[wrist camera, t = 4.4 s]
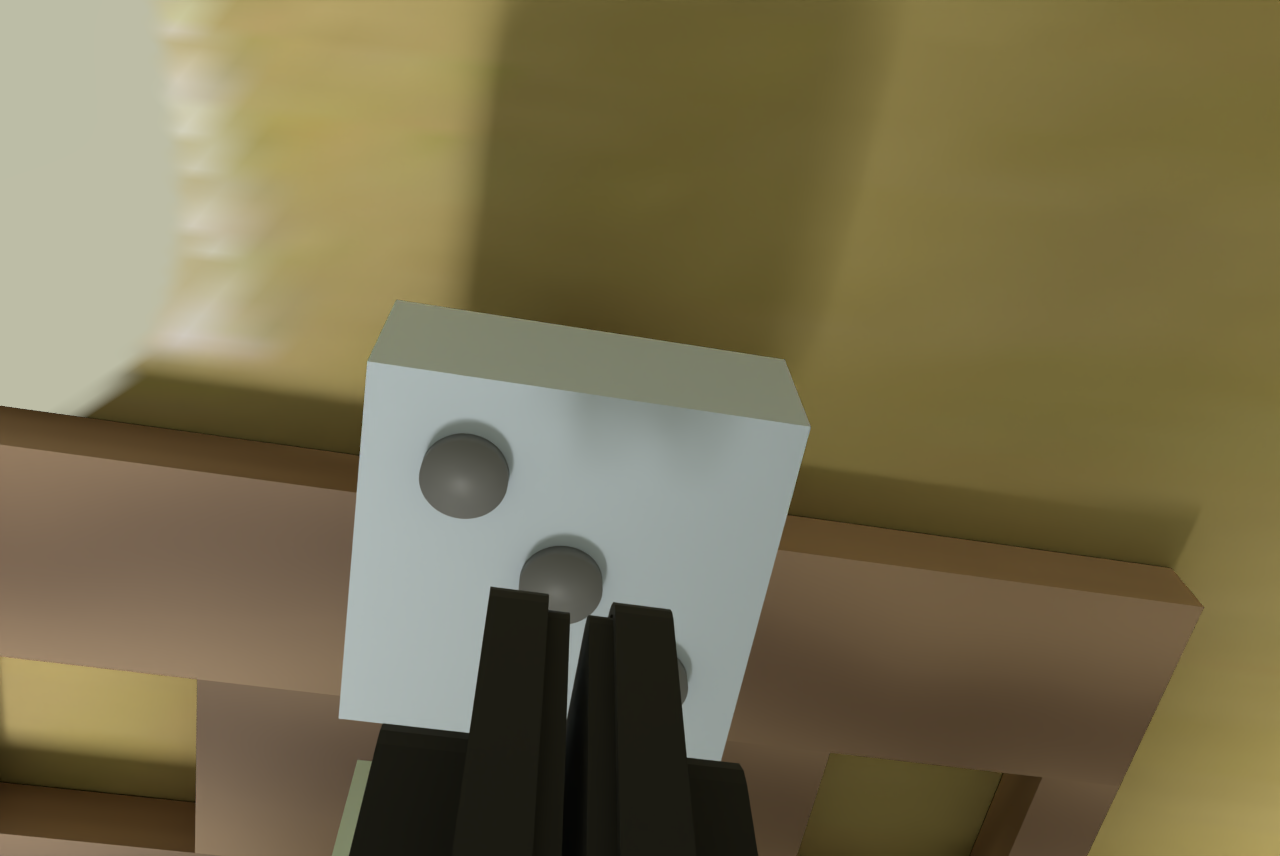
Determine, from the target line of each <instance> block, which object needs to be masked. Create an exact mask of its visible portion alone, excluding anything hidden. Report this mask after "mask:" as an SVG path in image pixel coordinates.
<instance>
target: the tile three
mask: <svg viewBox="0 0 1280 856" xmlns="http://www.w3.org/2000/svg"><path fill="white" fill-rule="evenodd" d="M810 428H811V426H810V423H809V421H808V418H807V416H806V413H805V410H804V408H803V405H802V403H801V400H800V398H799V395H798V392H797V390H796V387H795V385H794V382H793V380H792V377H791V374H790V372H789V369H788V367H787V364H786V362H785V359H779V358H772V357H766V356H759V355H753V354H746V353H740V352H733V351H727V350H720V349H714V348H707V347H701V346H694V345H688V344H681V343H675V342H668V341H662V340H655V339H649V338H642V337H636V336H629V335H623V334H616V333H610V332H603V331H597V330H590V329H584V328H577V327H571V326H564V325H558V324H551V323H545V322H538V321H532V320H525V319H519V318H512V317H506V316H499V315H493V314H486V313H480V312H473V311H467V310H460V309H454V308H447V307H441V306H434V305H428V304H421V303H415V302H408V301H402V300H396V301H395V303H394V305H393V308H392V310H391V312H390V314H389V316H388V318H387V320H386V322H385V325H384V327H383V329H382V331H381V333H380V335H379V337H378V340H377V342H376V344H375V346H374V348H373V350H372V352H371V354H370V357H369V359H368V361H367V371H366V384H365V396H364V408H363V421H362V433H361V446H360V458H359V470H358V483H357V495H356V508H355V520H354V533H353V545H352V557H351V570H350V582H349V595H348V607H347V620H346V632H345V644H344V657H343V669H342V682H341V694H340V707H339V719H347V720H356V721H365V722H374V723H382V724H383V723H386V724H394V725H403V726H412V727H421V728H430V729H439V730H448V731H457V732H465V733H469V731H470V724H471V717H472V710H473V704H474V697H475V690H476V683H477V676H478V669H479V662H480V655H481V648H482V641H483V634H484V628H485V621H486V614H487V607H488V600H489V593H490V586H491V587H498V588H506V589H514V590H522V591H530V592H538V593H546V594H549V607H548V610H553V611H561V612H569V613H570V638H569V666H568V694H567V716H568V711H569V705H570V700H571V695H572V690H573V685H574V680H575V674H576V669H577V664H578V659H579V654H580V649H581V643H582V638H583V633H584V628H585V623H586V619H587V616H588V615H593V616H601V617H608V615H609V611H610V608H611V605H612V603H613V602H617V603H624V604H632V605H640V606H648V607H656V608H664V609H670V610H671V611H672V613H673V619H674V629H675V639H676V650H677V660H678V671H679V681H680V691H681V702H682V712H683V722H684V733H685V743H686V753H687V758H696V759H705V760H714V761H721V759H722V755H723V751H724V747H725V744H726V740H727V736H728V733H729V729H730V725H731V721H732V718H733V714H734V710H735V707H736V703H737V699H738V695H739V692H740V688H741V684H742V681H743V677H744V673H745V670H746V666H747V662H748V658H749V655H750V651H751V647H752V644H753V640H754V636H755V632H756V629H757V625H758V621H759V618H760V614H761V610H762V606H763V603H764V599H765V595H766V592H767V588H768V584H769V580H770V577H771V573H772V569H773V566H774V562H775V558H776V554H777V551H778V547H779V543H780V540H781V536H782V532H783V528H784V525H785V521H786V517H787V514H788V510H789V506H790V503H791V499H792V495H793V491H794V488H795V484H796V480H797V477H798V473H799V469H800V465H801V462H802V458H803V454H804V451H805V447H806V443H807V439H808V436H809V432H810Z"/></svg>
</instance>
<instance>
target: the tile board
mask: <svg viewBox="0 0 1280 856" xmlns="http://www.w3.org/2000/svg"><path fill="white" fill-rule="evenodd" d="M359 458H360V456H359V455H351V454H344V453H337V452H330V451H323V450H315V449H308V448H301V447H294V446H286V445H279V444H272V443H265V442H258V441H250V440H243V439H236V438H229V437H222V436H214V435H207V434H200V433H193V432H186V431H178V430H171V429H164V428H157V427H149V426H142V425H135V424H128V423H121V422H113V421H106V420H99V419H92V418H85V417H77V416H70V415H63V414H56V413H49V412H41V411H33V410H27V409H20V408H12V407H5V406H0V656H1V657H9V658H18V659H27V660H35V661H44V662H53V663H61V664H70V665H78V666H87V667H96V668H104V669H113V670H122V671H130V672H139V673H147V674H156V675H165V676H173V677H182V678H190V679H197V735H196V803H193V802H184V801H174V800H165V799H155V798H146V797H136V796H126V795H117V794H107V793H98V792H88V791H79V790H69V789H59V788H50V787H40V786H31V785H21V784H12V783H2V782H0V856H332V853H333V849H334V845H335V842H336V838H337V834H338V830H339V827H340V823H341V819H342V816H343V812H344V808H345V804H346V801H347V797H348V793H349V790H350V786H351V782H352V778H353V775H354V771H355V767H356V764H357V760H364V761H372V759H373V755H374V751H375V747H376V743H377V739H378V736H379V732H380V729H381V726H382V723H374V722H365V721H356V720H347V719H339V707H340V694H341V682H342V669H343V657H344V644H345V632H346V620H347V607H348V595H349V582H350V570H351V557H352V545H353V533H354V520H355V508H356V495H357V483H358V470H359ZM1203 608H1204V607H1203V605H1202V604H1201V603H1200V602H1199V601H1198V599H1197V598H1196V597H1195V596H1194V595H1193V593H1192V592H1191V591H1190V590H1189V589H1188V587H1187V586H1186V585H1185V584H1184V583H1183V581H1182V580H1181V579H1180V578H1179V577H1178V575H1177V574H1176V573H1175V572H1174V571H1173V569H1172V568H1166V567H1159V566H1152V565H1144V564H1137V563H1130V562H1123V561H1116V560H1108V559H1101V558H1094V557H1087V556H1080V555H1072V554H1065V553H1058V552H1051V551H1043V550H1036V549H1029V548H1022V547H1015V546H1007V545H1000V544H993V543H986V542H979V541H971V540H964V539H957V538H950V537H943V536H935V535H928V534H921V533H914V532H907V531H899V530H892V529H885V528H878V527H870V526H863V525H856V524H849V523H842V522H834V521H827V520H820V519H813V518H806V517H798V516H791V515H787V517H786V521H785V525H784V528H783V532H782V536H781V540H780V543H779V547H778V551H777V554H776V558H775V562H774V566H773V569H772V573H771V577H770V580H769V584H768V588H767V592H766V595H765V599H764V603H763V606H762V610H761V614H760V618H759V621H758V625H757V629H756V632H755V636H754V640H753V644H752V647H751V651H750V655H749V658H748V662H747V666H746V670H745V673H744V677H743V681H742V684H741V688H740V692H739V695H738V699H737V703H736V707H735V710H734V714H733V718H732V721H731V725H730V729H729V733H728V736H727V740H726V744H725V747H724V751H723V755H722V759H721V761H723V762H732V763H739V764H740V765H741V767H742V768H743V770H744V774H745V778H746V782H747V787H748V794H749V800H750V806H751V813H752V819H753V825H754V832H755V838H756V844H757V851H758V856H797V854H798V851H799V848H800V845H801V842H802V839H803V836H804V833H805V830H806V826H807V823H808V820H809V817H810V814H811V811H812V808H813V805H814V802H815V798H816V795H817V792H818V789H819V786H820V783H821V780H822V777H823V774H824V771H825V767H826V764H827V761H828V758H829V755H830V753H837V754H846V755H854V756H863V757H872V758H880V759H889V760H898V761H906V762H915V763H923V764H932V765H941V766H949V767H958V768H967V769H975V770H984V771H992V772H1001V773H1004V774H1003V776H1002V779H1001V781H1000V783H999V786H998V788H997V791H996V793H995V796H994V798H993V800H992V803H991V805H990V808H989V810H988V813H987V815H986V818H985V820H984V822H983V825H982V827H981V830H980V832H979V835H978V837H977V839H976V842H975V844H974V847H973V849H972V852H971V854H970V856H1087V855H1088V853H1089V851H1090V848H1091V846H1092V844H1093V842H1094V840H1095V838H1096V836H1097V834H1098V831H1099V829H1100V827H1101V825H1102V823H1103V821H1104V819H1105V817H1106V814H1107V812H1108V810H1109V808H1110V806H1111V804H1112V802H1113V800H1114V798H1115V795H1116V793H1117V791H1118V789H1119V787H1120V785H1121V783H1122V781H1123V778H1124V776H1125V774H1126V772H1127V770H1128V768H1129V766H1130V764H1131V761H1132V759H1133V757H1134V755H1135V753H1136V751H1137V749H1138V747H1139V744H1140V742H1141V740H1142V738H1143V736H1144V734H1145V732H1146V730H1147V727H1148V725H1149V723H1150V721H1151V719H1152V717H1153V715H1154V713H1155V710H1156V708H1157V706H1158V704H1159V702H1160V700H1161V698H1162V696H1163V693H1164V691H1165V689H1166V687H1167V685H1168V683H1169V681H1170V679H1171V676H1172V674H1173V672H1174V670H1175V668H1176V666H1177V664H1178V662H1179V659H1180V657H1181V655H1182V653H1183V651H1184V649H1185V647H1186V645H1187V642H1188V640H1189V638H1190V636H1191V634H1192V632H1193V630H1194V628H1195V625H1196V623H1197V621H1198V619H1199V617H1200V615H1201V613H1202V611H1203Z"/></svg>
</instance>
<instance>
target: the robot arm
mask: <svg viewBox="0 0 1280 856" xmlns="http://www.w3.org/2000/svg"><path fill="white" fill-rule="evenodd" d="M548 607H549V594H546V593H538V592H530V591H522V590H514V589H506V588H498V587H491V586H490V593H489V600H488V607H487V614H486V621H485V628H484V634H483V641H482V648H481V655H480V662H479V669H478V676H477V683H476V690H475V697H474V704H473V710H472V717H471V724H470V731H469V733H465V732H457V731H448V730H439V729H430V728H421V727H412V726H403V725H394V724H386V723H383V724H382V726H381V729H380V732H379V736H378V739H377V743H376V747H375V751H374V755H373V759H372V763H371V767H370V771H369V775H368V779H367V783H366V788H365V792H364V796H363V800H362V804H361V808H360V812H359V816H358V820H357V824H356V828H355V832H354V836H353V840H352V844H351V849H350V853H349V856H758V851H757V844H756V838H755V832H754V825H753V819H752V813H751V806H750V800H749V794H748V787H747V782H746V778H745V774H744V770H743V768H742V767H741V765H740V764H739V763H732V762H723V761H714V760H705V759H696V758H687V753H686V743H685V733H684V722H683V712H682V702H681V691H680V681H679V671H678V660H677V650H676V639H675V629H674V619H673V613H672V611H671V610H670V609H664V608H656V607H648V606H640V605H632V604H624V603H617V602H613V603H612V605H611V608H610V611H609V615H608V617H601V616H593V615H588V616H587V619H586V623H585V628H584V633H583V638H582V643H581V649H580V654H579V659H578V664H577V669H576V674H575V680H574V685H573V690H572V695H571V700H570V705H569V711H568V716H567V694H568V666H569V638H570V613H569V612H561V611H553V610H548Z"/></svg>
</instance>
